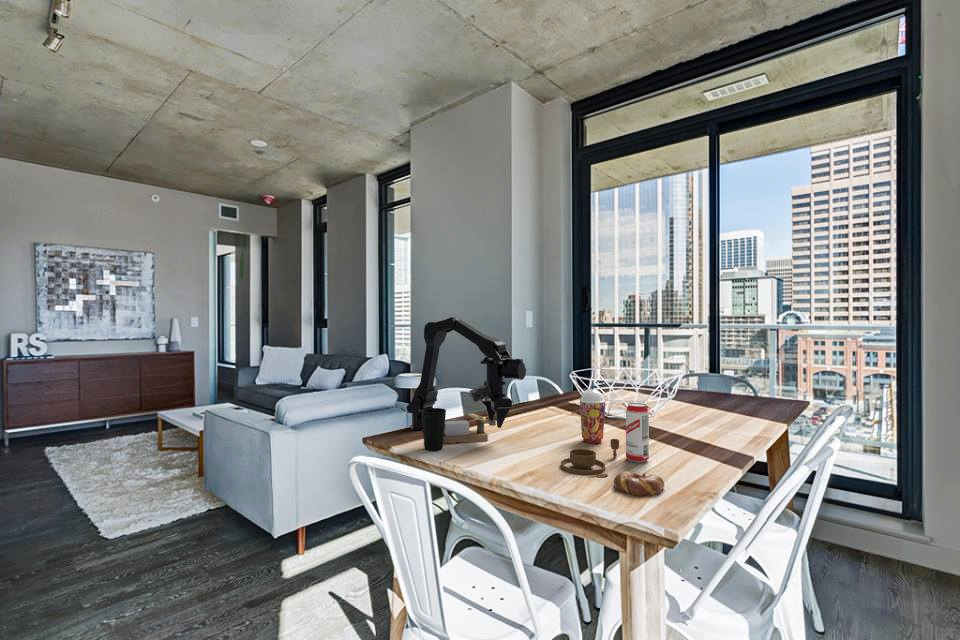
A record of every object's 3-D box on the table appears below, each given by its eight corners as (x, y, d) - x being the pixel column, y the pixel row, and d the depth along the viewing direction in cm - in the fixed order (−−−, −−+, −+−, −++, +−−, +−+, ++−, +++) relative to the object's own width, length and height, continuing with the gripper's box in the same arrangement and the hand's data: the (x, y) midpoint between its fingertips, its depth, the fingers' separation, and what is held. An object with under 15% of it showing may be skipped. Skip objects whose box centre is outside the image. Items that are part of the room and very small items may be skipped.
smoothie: (577, 438, 161) (577, 379, 161) (602, 438, 161) (602, 379, 161) (581, 444, 153) (582, 382, 153) (608, 445, 152) (608, 382, 152)
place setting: (551, 461, 137) (551, 440, 137) (616, 458, 141) (616, 438, 141) (573, 481, 120) (573, 458, 120) (646, 477, 123) (646, 454, 123)
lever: (475, 416, 168) (475, 412, 168) (498, 425, 153) (498, 421, 153) (466, 417, 166) (466, 413, 166) (489, 426, 152) (489, 422, 152)
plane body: (433, 439, 160) (433, 420, 160) (481, 435, 164) (482, 418, 164) (437, 444, 153) (437, 425, 153) (487, 440, 157) (487, 422, 157)
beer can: (639, 464, 132) (639, 407, 132) (621, 459, 137) (621, 403, 137) (653, 461, 135) (653, 405, 135) (635, 455, 141) (635, 401, 141)
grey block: (442, 433, 159) (442, 421, 159) (466, 432, 161) (466, 420, 161) (445, 436, 155) (445, 424, 155) (469, 435, 157) (469, 423, 157)
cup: (447, 445, 151) (448, 408, 151) (443, 452, 144) (443, 412, 143) (424, 445, 152) (424, 407, 152) (418, 451, 144) (418, 412, 144)
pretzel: (654, 481, 119) (654, 467, 119) (673, 498, 108) (673, 481, 108) (607, 481, 119) (607, 466, 119) (621, 497, 108) (621, 481, 108)
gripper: (464, 375, 165) (464, 420, 165) (479, 382, 147) (479, 432, 147) (495, 374, 168) (495, 418, 168) (513, 381, 150) (513, 430, 150)
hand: (494, 424), depth 159 cm, fingers open, 9 cm apart
